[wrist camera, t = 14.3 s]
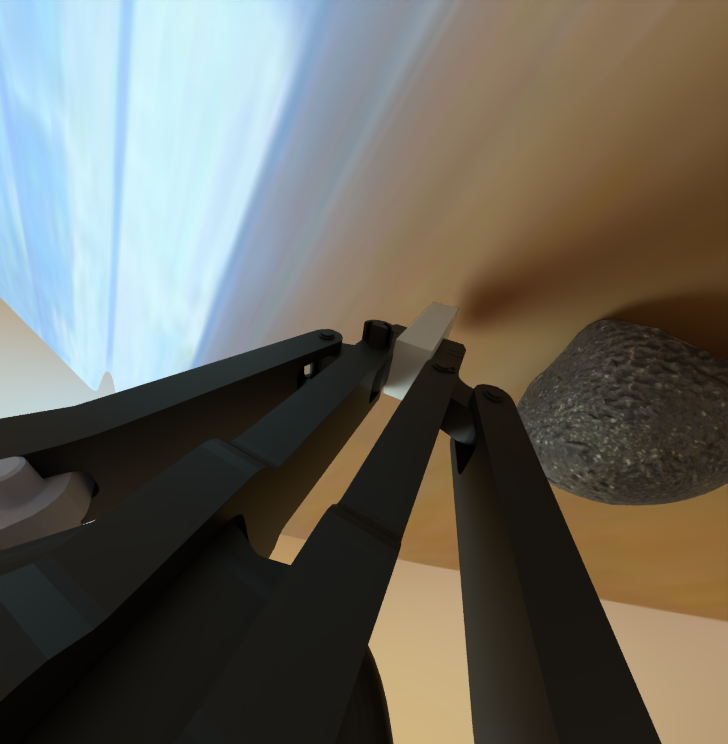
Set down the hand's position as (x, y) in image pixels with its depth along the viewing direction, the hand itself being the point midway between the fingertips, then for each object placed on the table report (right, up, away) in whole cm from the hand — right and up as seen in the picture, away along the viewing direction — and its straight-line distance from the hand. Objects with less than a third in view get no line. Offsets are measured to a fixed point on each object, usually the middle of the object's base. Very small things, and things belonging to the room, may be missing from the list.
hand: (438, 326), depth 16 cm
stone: (+10, -4, 0) cm, 11 cm away
